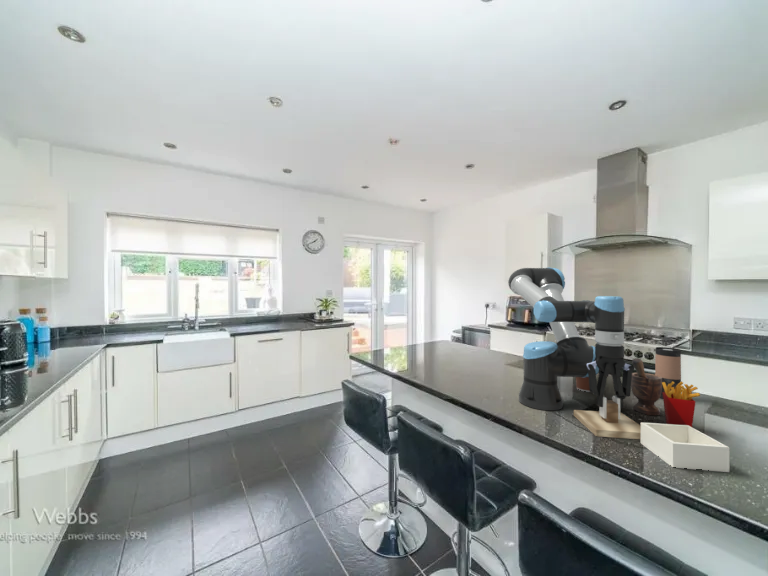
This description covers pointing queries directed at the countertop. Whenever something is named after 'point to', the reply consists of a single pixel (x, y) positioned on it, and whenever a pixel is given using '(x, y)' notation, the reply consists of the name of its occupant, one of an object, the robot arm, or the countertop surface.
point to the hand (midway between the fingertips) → (609, 416)
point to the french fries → (679, 404)
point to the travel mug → (668, 366)
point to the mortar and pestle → (645, 389)
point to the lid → (609, 423)
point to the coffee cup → (582, 384)
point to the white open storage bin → (685, 447)
